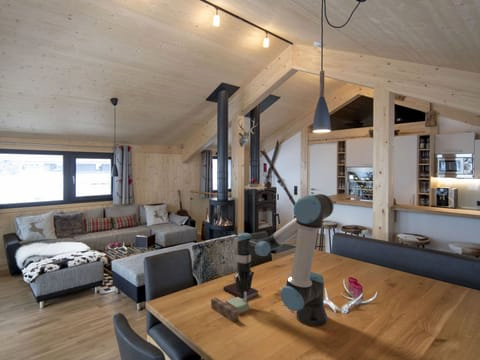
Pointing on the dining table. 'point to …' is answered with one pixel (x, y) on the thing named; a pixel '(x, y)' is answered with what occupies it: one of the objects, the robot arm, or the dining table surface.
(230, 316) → the board
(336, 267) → the dining table surface
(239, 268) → the robot arm
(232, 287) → the book
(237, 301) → the block
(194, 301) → the dining table surface
